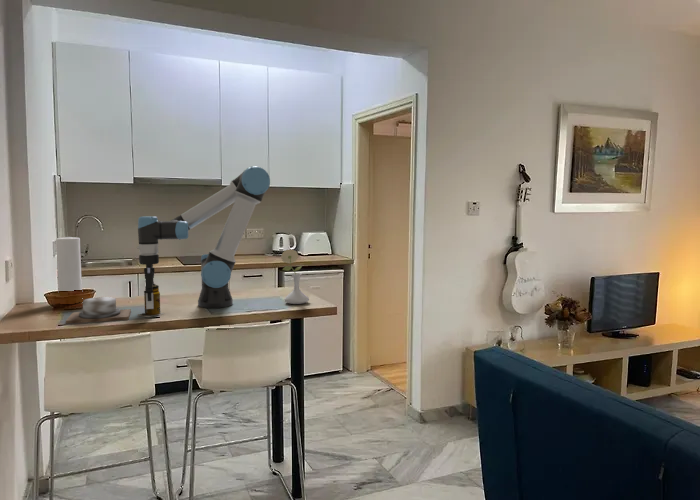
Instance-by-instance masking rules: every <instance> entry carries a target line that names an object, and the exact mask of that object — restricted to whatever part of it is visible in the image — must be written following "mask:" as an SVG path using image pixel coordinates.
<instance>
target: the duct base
mask: <svg viewBox="0 0 700 500" xmlns="http://www.w3.org/2000/svg"><path fill="white" fill-rule="evenodd" d="M131 313H132V309H131V308H129V309H128V308H127V309H125V308H124V309H119V308H117V298H116V297H111V296H97V297H91V298H90V297H89V298H85V299H83V302H82V311H77V312H76V311H75V312H71V314H70V315H69V316H68V317H67V318H66V320H65V324H66V325H67V324H68V325H69V324H83V323H85V324H86V323H98V322H101V323H102V322H115V321H128V320H130V316H131Z"/></svg>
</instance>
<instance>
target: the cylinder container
mask: <svg viewBox="0 0 700 500" xmlns="http://www.w3.org/2000/svg"><path fill="white" fill-rule="evenodd" d="M55 245H56V246H55V247H56V260H57V261H56V263H57V282H58V283H57V284H58V286H57V287H58V292H59V291H74V290H82V291H83V283H82V282H83V281H82V277H83V276H82V261H81V260H82V257H81V256H82V255H81V238H80V237H75V236H73V237H72V236H64V237H57V238H56V239H55Z"/></svg>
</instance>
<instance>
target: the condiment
mask: <svg viewBox="0 0 700 500" xmlns="http://www.w3.org/2000/svg"><path fill="white" fill-rule="evenodd" d="M144 287H145V290H146V285H145V286H144ZM159 287H160V286H159V285H158V284H155V285H153V306H154V309H146V293H144V292H143V295H144V296H143V297H144V299H143V300H144V312H143V313H138V314H136V315H137V316H140V317H144V318H145V317H146V318H150V317H151V318H152V317H154V316H155V317H156V316H160V315H164V314H165V312H161V293H160V289H159ZM145 290H144V291H145Z"/></svg>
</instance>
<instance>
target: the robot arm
mask: <svg viewBox="0 0 700 500" xmlns="http://www.w3.org/2000/svg"><path fill="white" fill-rule="evenodd" d="M270 185H271V178H270V175H269V173H268V172H267V171H266V169H265V168H263V167H260V166H257V165H252V166H249V167H247V168H246V169H244V170H243V172H241V173H240V174H239V175H238V176H237V177H235V178H234V179H232V180H231V181H230V183H229V184H228V185H227V186H226V187H224V188H222V189H220V190H219V191H218V192H215V193H214V194H212V195H211V196H209V197H207V198H206V199H204V200H202V201H201V202H199V203H198V204H196V205H194V206H193V207H191V208H189V209H188V210H186V211H185V212H183V213H181V214H180V215H178V216H176V217H174V218H173V219H170V220H168V221H167V220H166V221H164V220H163V221H161V220H159V219H158V216H155V215H154V216H151V215H148V216H146V215H144V216H139V217H138V218H137V235H138V236H137V237H138V238H137V239H138V245H137V247H136V248H137V249H138V254H139V255H138V261H139V264H140V265H145V267H144V269H143V273H144V279H145V286H146V290H143V294H144V293H146V309H154V306H153V285H156V283H155V281H154V278H155V270H156V269H155V267H154V265H157V264H159V262H160V259H159V256H160V255H159V253H160V250H159V247H160V246H159V240H161V241H162V240H186V239H187V240H188V238H189V231H190V230H192V229H194V228H195V227H196V226H198V225H200V224H202V223H203V222H205V221H206V220H208V219H210V218H211V217H213V216H214V215H216V214H218V213H220V212H222V210H225V209H226V208H228V207H229V206H231V205H232V207H231V210H230V212H229V214H228V217H227V219H226V221H225V224H224V226H223V229H222V231H221V234H220V236H219V238H218V240H217V243H216V246H215V247H214V248H213V249H212V250H210V251H209V252H208V254H207V253H206V254H202V255H201V256H200V264H201V265H200V273H201V274H200V276H201V290H200V293H199V297H198V299H197V306H198V307H200V308H205V309H207V308H208V309H217V308H219V309H220V308H225V307H230V306H232V305H233V301H234V300H233V297H232V294H231V291H230V288H229V281H230V280H231V276H232V271H233V269H234V266H235V265H236V262H237V261H236V258H235V255H236V253H237V250H238V248H239V246H240V243H241V241H242V239H243V237H244V234H245V231H246V229H247V227H248V224H249V223H250V220H251V217H252V216H253V213H254V211H255V208H256V205H258V204H260V203H262V201H263V199H264V196H265V194H266V192H267V191H268V189H269V188H270Z"/></svg>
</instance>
